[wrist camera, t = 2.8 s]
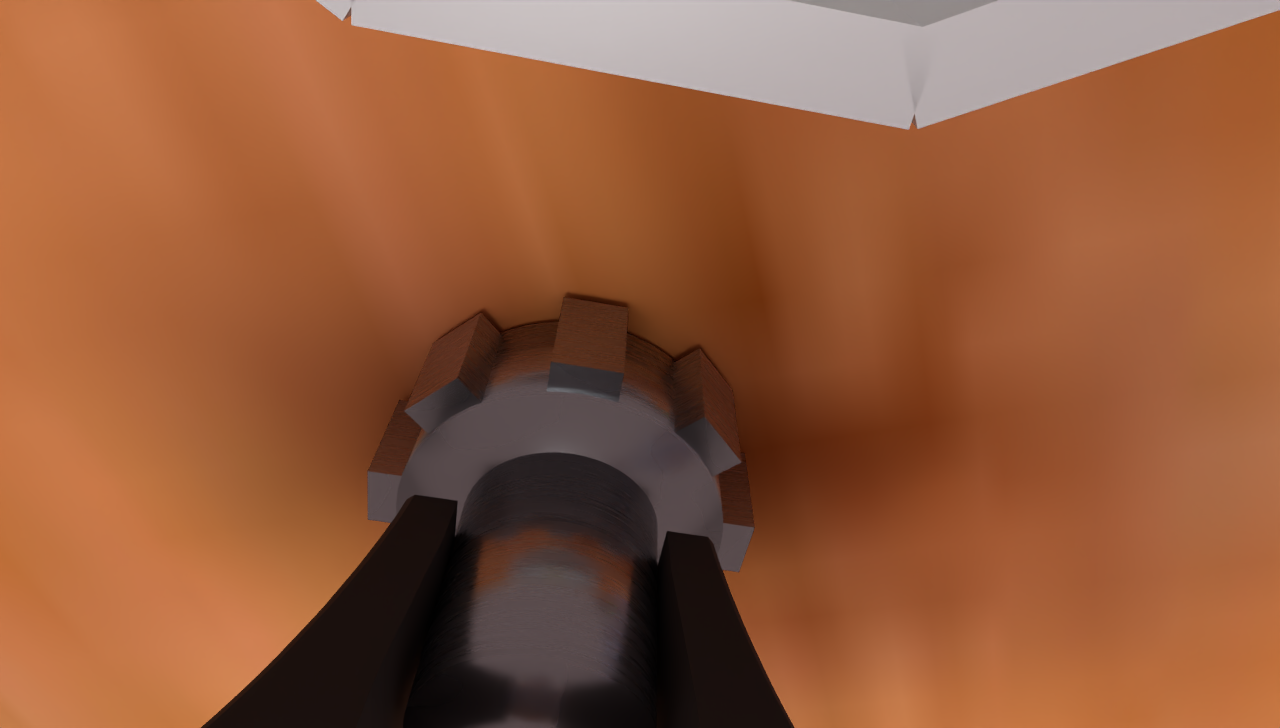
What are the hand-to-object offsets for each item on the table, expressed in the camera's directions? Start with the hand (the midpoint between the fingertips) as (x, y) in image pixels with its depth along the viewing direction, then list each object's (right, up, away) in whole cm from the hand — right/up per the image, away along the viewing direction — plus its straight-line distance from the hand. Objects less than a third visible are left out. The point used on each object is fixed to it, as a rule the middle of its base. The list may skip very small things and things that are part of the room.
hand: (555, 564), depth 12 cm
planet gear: (0, +2, +2) cm, 3 cm away
